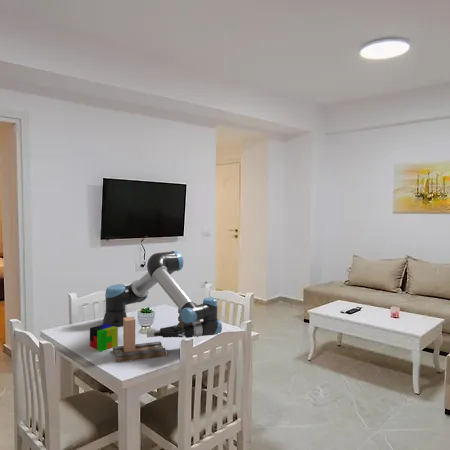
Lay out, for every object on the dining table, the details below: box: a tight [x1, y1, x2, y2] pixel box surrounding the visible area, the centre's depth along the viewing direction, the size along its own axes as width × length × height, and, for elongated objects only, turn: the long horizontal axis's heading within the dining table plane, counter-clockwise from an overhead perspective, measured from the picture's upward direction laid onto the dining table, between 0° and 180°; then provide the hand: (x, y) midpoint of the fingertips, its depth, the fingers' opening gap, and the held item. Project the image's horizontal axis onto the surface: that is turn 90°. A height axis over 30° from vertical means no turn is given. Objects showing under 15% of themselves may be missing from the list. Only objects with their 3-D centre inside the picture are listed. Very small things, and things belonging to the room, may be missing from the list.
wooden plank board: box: [112, 341, 168, 363], centre depth 206 cm, size 24×16×2 cm, turn 112°
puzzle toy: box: [89, 323, 119, 352], centre depth 214 cm, size 10×10×10 cm
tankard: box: [176, 302, 201, 327], centre depth 245 cm, size 20×13×15 cm, turn 37°
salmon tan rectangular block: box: [122, 316, 136, 353], centre depth 203 cm, size 5×6×16 cm
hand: (147, 334), depth 205 cm, fingers closed
